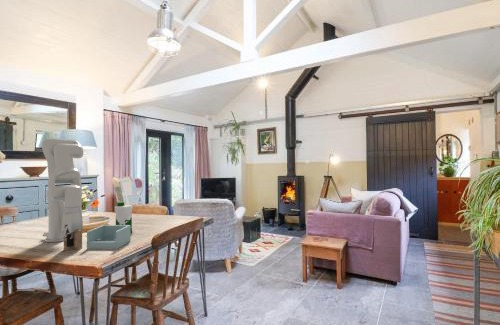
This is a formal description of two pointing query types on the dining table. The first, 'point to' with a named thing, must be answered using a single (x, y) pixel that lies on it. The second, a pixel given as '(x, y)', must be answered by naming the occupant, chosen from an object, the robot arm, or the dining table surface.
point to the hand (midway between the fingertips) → (73, 244)
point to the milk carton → (123, 214)
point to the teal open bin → (108, 236)
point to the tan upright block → (74, 241)
